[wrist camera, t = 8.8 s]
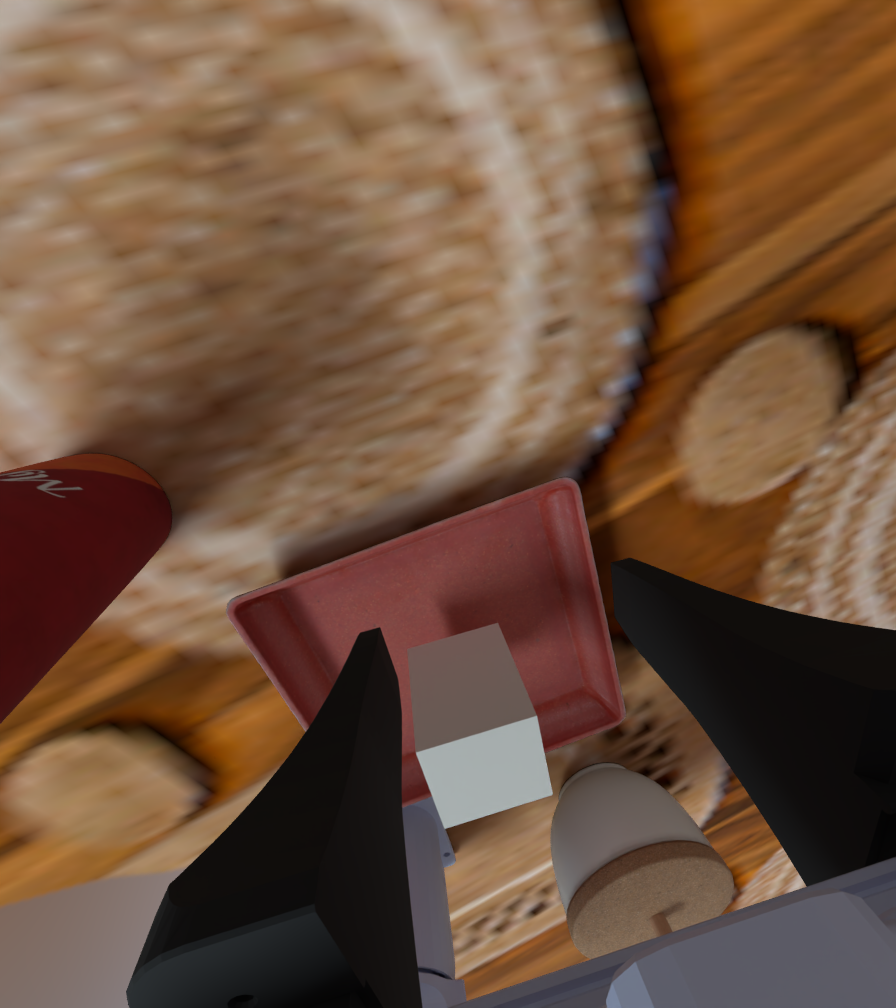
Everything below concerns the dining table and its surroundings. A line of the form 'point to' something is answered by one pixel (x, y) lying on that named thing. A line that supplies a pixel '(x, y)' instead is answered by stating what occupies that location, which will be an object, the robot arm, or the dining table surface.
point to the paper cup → (68, 556)
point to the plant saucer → (453, 614)
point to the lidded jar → (631, 861)
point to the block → (475, 726)
